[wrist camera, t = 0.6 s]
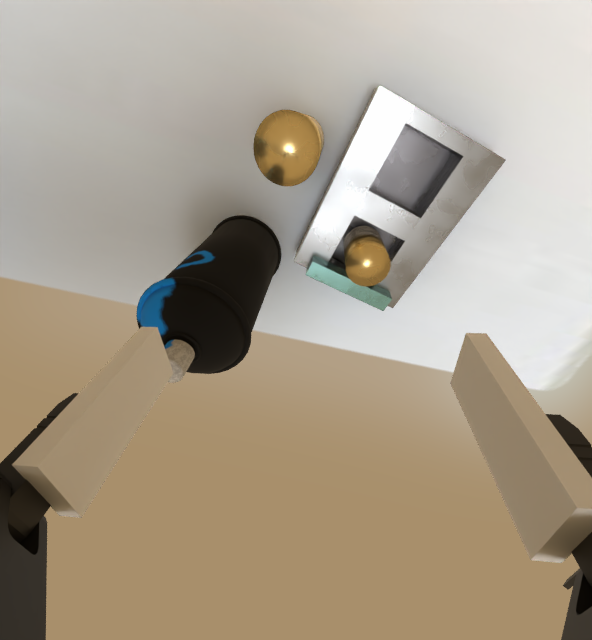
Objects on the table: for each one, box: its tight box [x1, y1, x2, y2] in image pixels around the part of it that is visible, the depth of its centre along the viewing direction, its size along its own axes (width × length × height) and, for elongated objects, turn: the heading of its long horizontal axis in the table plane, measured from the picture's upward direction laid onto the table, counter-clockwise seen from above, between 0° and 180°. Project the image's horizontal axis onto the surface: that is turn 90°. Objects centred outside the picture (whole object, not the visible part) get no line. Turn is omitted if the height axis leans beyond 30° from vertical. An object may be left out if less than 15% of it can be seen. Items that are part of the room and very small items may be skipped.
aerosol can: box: [137, 216, 281, 382], centre depth 26 cm, size 8×8×20 cm
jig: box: [294, 85, 505, 311], centre depth 28 cm, size 12×16×6 cm
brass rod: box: [254, 110, 324, 186], centre depth 23 cm, size 4×4×12 cm
